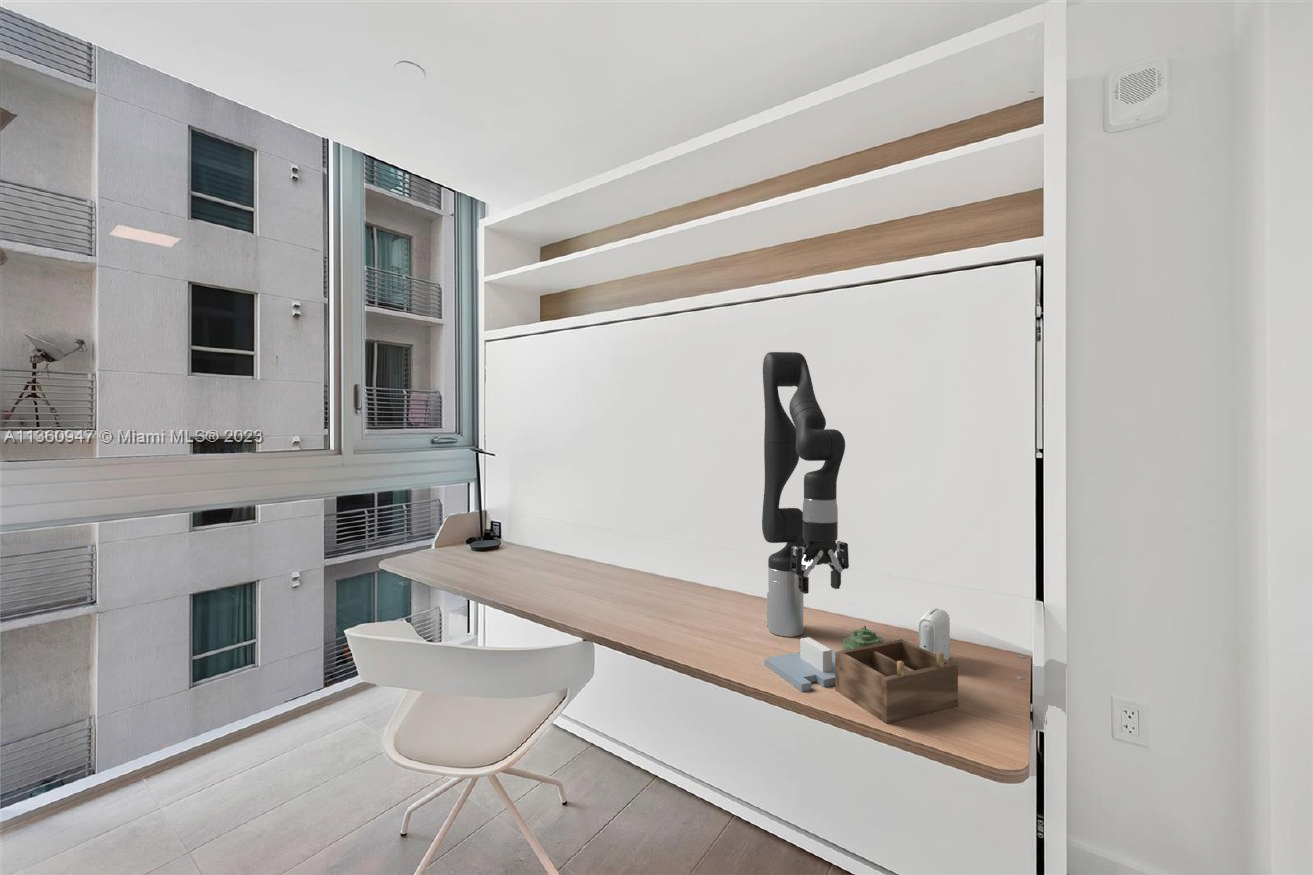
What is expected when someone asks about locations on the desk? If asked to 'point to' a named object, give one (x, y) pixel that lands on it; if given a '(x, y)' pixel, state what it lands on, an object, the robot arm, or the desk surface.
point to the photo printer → (935, 632)
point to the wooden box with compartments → (896, 680)
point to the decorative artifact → (861, 639)
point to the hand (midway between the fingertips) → (819, 590)
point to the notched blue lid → (805, 665)
